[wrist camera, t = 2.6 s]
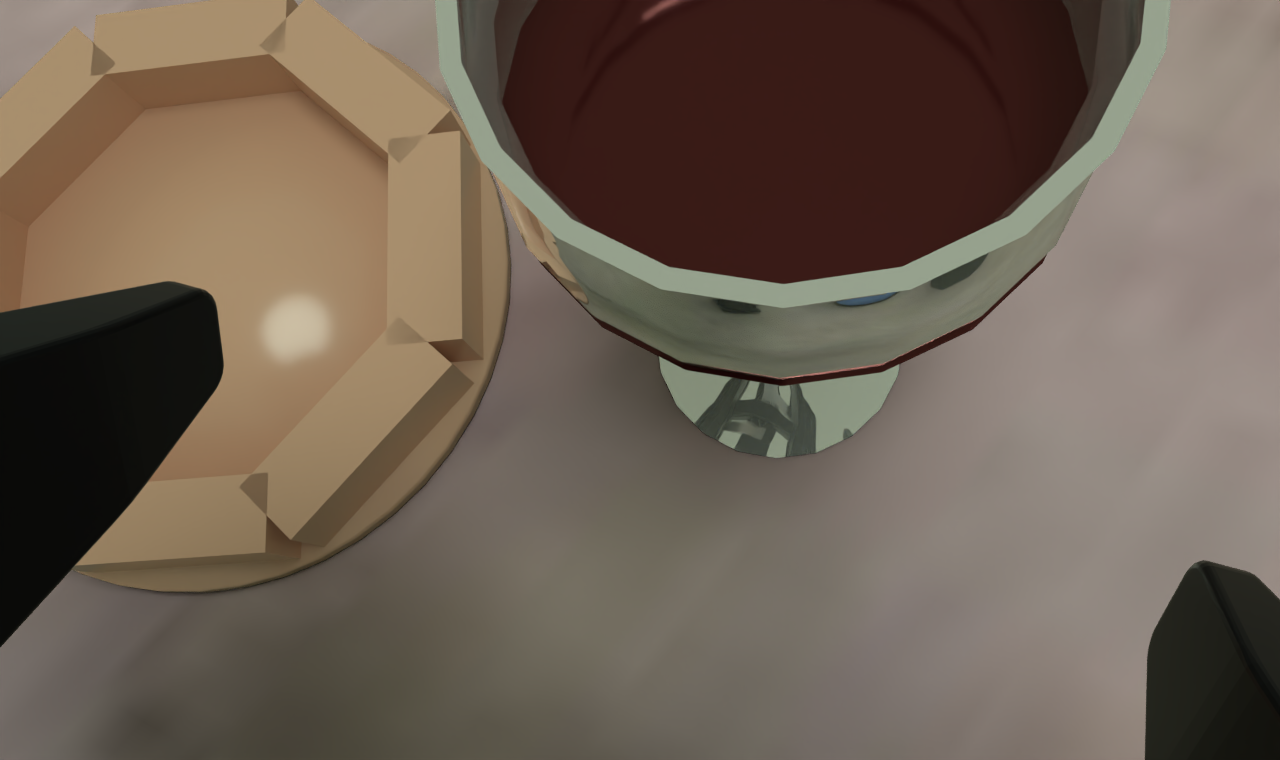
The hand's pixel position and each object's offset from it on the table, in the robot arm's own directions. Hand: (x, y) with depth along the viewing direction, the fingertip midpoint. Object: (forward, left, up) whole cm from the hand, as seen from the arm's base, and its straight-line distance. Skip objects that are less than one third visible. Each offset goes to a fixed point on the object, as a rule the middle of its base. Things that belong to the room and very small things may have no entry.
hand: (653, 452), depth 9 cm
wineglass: (+2, -4, -11) cm, 12 cm away
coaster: (+12, +3, -11) cm, 17 cm away
